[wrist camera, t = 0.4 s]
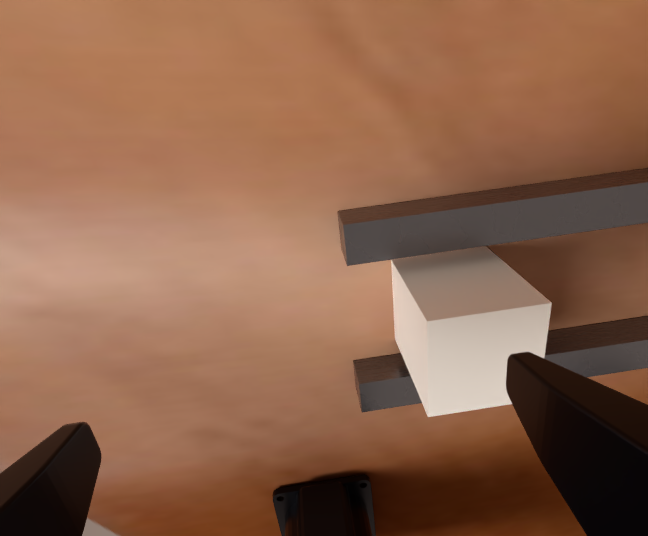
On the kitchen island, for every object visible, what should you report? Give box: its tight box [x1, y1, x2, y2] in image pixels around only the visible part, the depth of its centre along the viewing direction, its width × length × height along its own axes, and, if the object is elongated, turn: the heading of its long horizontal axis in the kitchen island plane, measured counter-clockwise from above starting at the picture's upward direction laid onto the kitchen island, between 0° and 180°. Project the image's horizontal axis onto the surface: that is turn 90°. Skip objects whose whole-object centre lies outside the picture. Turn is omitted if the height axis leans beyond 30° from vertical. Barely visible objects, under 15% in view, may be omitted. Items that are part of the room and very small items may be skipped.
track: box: [338, 168, 648, 412], centre depth 21 cm, size 11×28×5 cm, turn 97°
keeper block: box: [391, 246, 552, 417], centre depth 20 cm, size 5×5×6 cm
